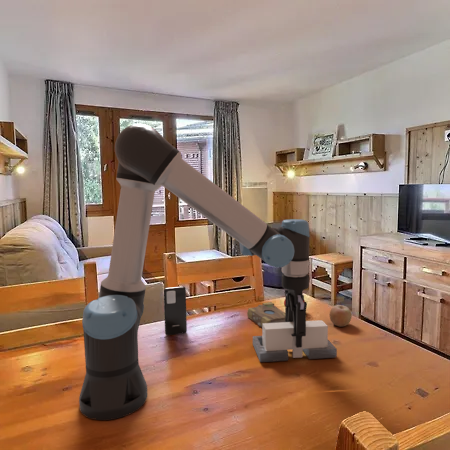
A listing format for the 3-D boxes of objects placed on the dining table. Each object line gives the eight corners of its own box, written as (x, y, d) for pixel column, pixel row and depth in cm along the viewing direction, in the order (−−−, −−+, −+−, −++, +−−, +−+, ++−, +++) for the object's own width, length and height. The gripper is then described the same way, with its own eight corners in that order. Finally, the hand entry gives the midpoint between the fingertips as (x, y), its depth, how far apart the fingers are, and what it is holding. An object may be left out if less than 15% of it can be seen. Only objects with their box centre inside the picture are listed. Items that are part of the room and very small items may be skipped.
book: (293, 327, 124) (293, 313, 124) (265, 333, 120) (265, 318, 119) (271, 314, 137) (271, 301, 137) (245, 318, 133) (245, 305, 132)
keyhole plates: (260, 362, 99) (260, 353, 99) (252, 344, 110) (252, 336, 110) (336, 357, 101) (336, 348, 101) (321, 339, 113) (321, 332, 112)
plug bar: (265, 358, 100) (265, 329, 99) (262, 351, 105) (262, 323, 104) (327, 354, 102) (327, 325, 101) (321, 347, 106) (322, 320, 106)
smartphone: (186, 332, 120) (185, 286, 119) (187, 333, 119) (185, 286, 118) (164, 335, 118) (163, 288, 117) (165, 336, 117) (163, 289, 116)
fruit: (327, 320, 129) (328, 299, 128) (349, 321, 128) (349, 299, 127) (331, 329, 121) (331, 306, 120) (353, 329, 120) (354, 306, 119)
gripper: (319, 281, 93) (318, 366, 95) (298, 266, 110) (298, 339, 112) (291, 282, 92) (290, 368, 94) (274, 267, 109) (274, 340, 112)
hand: (294, 352), depth 103 cm, fingers closed on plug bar, 4 cm apart
